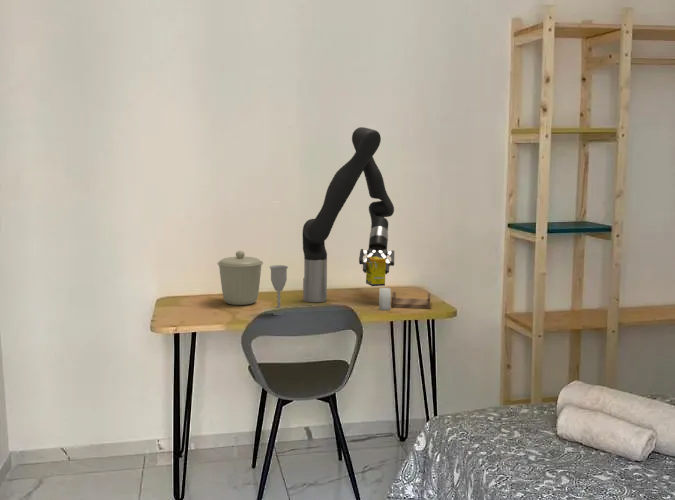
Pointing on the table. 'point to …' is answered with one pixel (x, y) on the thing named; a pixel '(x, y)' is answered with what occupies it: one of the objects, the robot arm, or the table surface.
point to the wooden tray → (410, 302)
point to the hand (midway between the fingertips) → (375, 272)
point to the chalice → (278, 279)
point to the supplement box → (375, 271)
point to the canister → (240, 279)
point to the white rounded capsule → (384, 298)
